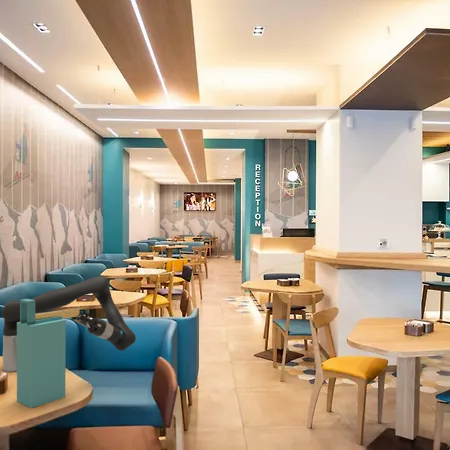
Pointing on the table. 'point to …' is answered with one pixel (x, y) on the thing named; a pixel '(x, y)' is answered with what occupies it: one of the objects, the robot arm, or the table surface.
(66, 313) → the wooden bar
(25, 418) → the table surface
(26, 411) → the table surface
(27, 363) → the teal brick phone
